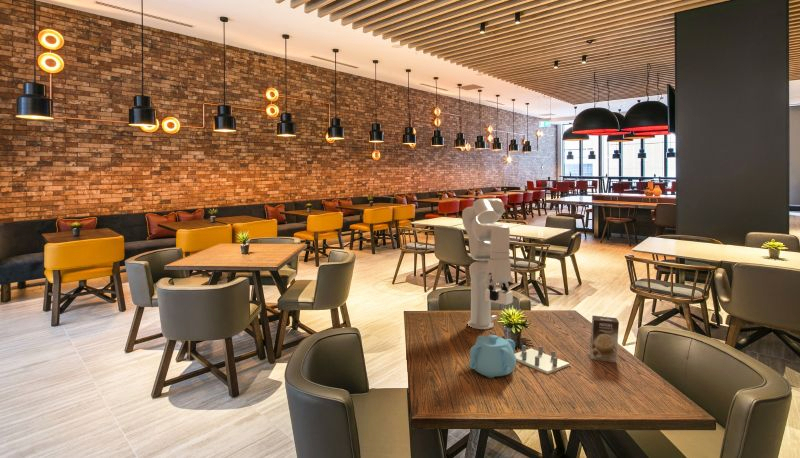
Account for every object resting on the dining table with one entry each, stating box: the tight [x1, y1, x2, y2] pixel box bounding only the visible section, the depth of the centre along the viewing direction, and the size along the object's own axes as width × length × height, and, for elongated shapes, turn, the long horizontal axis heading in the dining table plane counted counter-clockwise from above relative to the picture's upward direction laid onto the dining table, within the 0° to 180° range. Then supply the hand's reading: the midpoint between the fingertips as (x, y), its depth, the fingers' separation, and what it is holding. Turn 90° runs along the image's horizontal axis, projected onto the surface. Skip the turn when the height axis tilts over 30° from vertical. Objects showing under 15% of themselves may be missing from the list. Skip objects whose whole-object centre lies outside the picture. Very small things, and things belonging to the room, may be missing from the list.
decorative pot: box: [468, 334, 517, 379], centre depth 159 cm, size 16×16×14 cm
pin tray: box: [514, 344, 570, 375], centre depth 168 cm, size 13×18×4 cm
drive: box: [485, 288, 514, 306], centre depth 178 cm, size 5×10×4 cm, turn 46°
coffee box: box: [589, 315, 620, 363], centre depth 171 cm, size 9×6×16 cm
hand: (498, 298), depth 179 cm, fingers closed on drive, 5 cm apart
